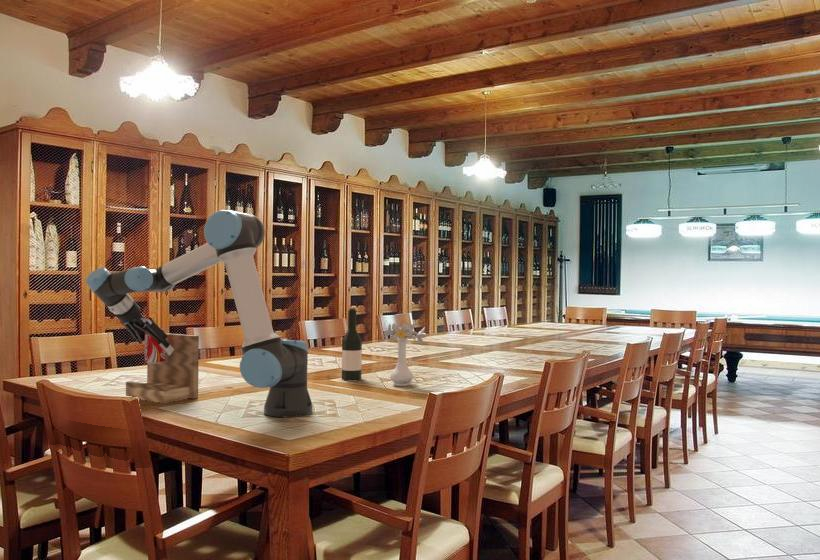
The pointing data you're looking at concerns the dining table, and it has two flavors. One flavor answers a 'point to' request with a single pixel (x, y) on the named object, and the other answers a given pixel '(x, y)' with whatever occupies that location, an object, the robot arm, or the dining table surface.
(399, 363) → the flower vase
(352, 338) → the wine bottle
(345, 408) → the dining table surface
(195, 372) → the cleat board
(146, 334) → the soda can
